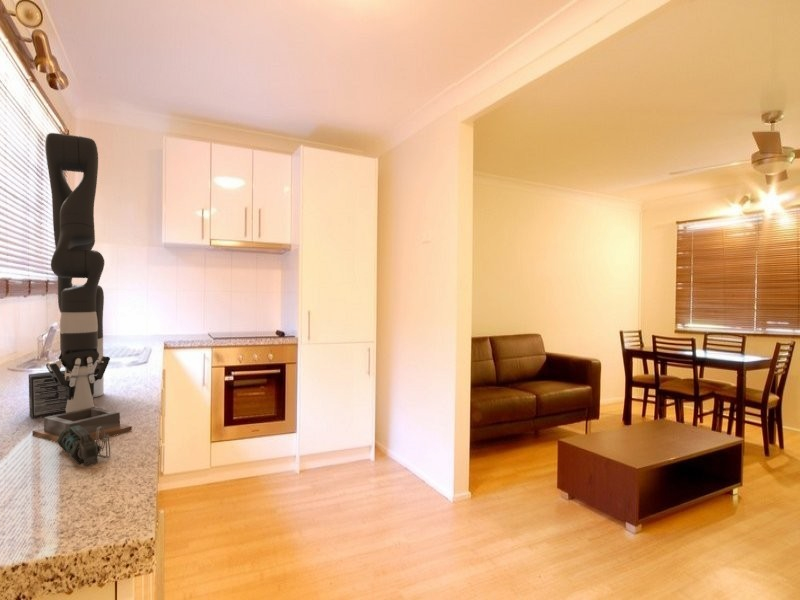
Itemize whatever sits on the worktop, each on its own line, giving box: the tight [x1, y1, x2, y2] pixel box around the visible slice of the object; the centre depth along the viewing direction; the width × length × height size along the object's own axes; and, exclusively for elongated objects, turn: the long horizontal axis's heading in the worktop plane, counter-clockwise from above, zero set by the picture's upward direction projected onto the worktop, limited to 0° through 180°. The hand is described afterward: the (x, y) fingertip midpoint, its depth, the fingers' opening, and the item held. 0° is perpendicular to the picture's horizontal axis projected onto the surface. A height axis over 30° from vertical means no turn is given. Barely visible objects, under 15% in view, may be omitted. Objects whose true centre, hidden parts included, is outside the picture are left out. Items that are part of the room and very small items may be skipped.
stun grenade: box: [56, 425, 111, 467], centre depth 85 cm, size 6×6×14 cm
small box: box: [28, 370, 67, 420], centre depth 115 cm, size 11×6×10 cm, turn 135°
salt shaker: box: [65, 366, 95, 413], centre depth 109 cm, size 6×6×13 cm
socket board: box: [32, 406, 133, 443], centre depth 98 cm, size 16×12×4 cm
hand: (79, 399), depth 110 cm, fingers closed on salt shaker, 3 cm apart
